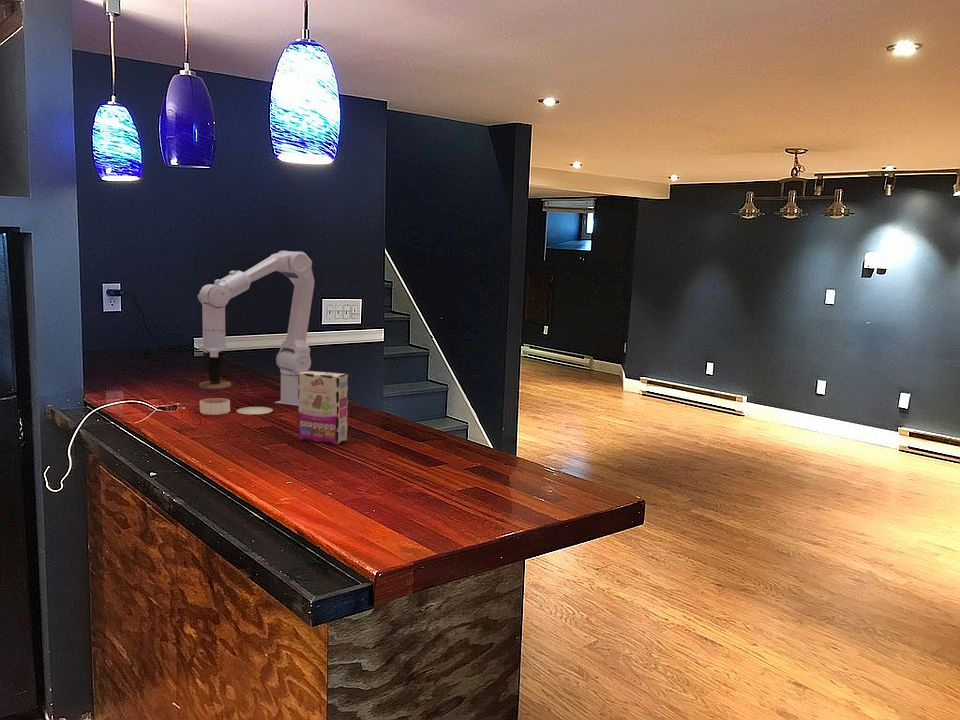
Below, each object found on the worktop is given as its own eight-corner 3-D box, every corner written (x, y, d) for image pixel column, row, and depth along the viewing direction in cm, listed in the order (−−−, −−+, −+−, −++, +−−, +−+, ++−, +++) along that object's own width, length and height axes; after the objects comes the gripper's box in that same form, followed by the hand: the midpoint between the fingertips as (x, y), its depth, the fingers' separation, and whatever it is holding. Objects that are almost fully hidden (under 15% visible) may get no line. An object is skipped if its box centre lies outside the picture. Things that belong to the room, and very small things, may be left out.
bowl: (235, 412, 212) (235, 400, 212) (217, 417, 205) (216, 405, 205) (213, 409, 215) (212, 397, 214) (194, 414, 208) (194, 402, 207)
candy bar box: (348, 440, 187) (349, 373, 185) (337, 445, 183) (338, 376, 180) (308, 435, 191) (308, 369, 189) (296, 439, 187) (297, 372, 184)
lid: (237, 384, 211) (236, 366, 210) (217, 389, 204) (216, 370, 203) (213, 382, 214) (212, 363, 213) (192, 387, 207) (192, 367, 206)
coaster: (279, 411, 216) (279, 409, 216) (258, 417, 207) (258, 415, 207) (251, 407, 219) (251, 405, 219) (228, 413, 211) (228, 411, 210)
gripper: (198, 326, 212) (199, 375, 214) (197, 333, 199) (198, 385, 201) (225, 326, 214) (226, 375, 216) (226, 333, 201) (226, 384, 203)
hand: (214, 380), depth 209 cm, fingers closed on lid, 3 cm apart
